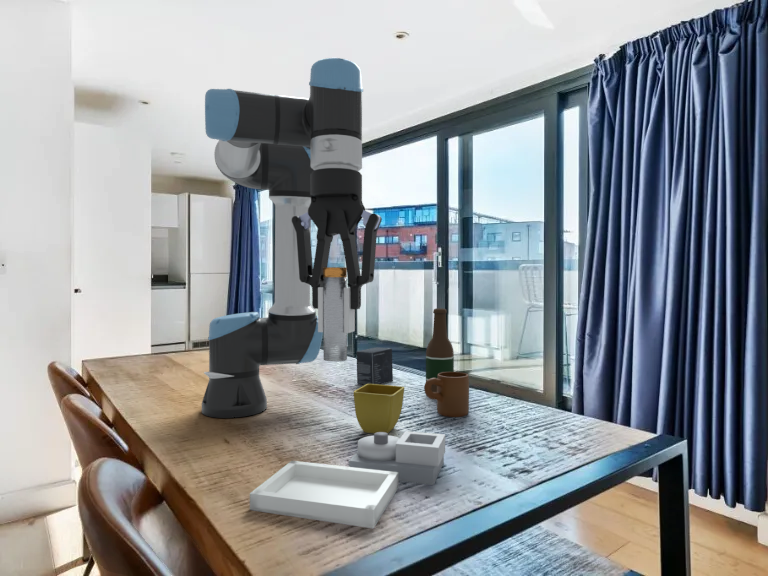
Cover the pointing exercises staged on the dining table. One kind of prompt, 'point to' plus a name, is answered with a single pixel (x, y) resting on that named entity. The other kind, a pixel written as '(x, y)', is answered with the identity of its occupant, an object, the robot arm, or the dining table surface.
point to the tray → (327, 493)
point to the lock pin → (334, 313)
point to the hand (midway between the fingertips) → (336, 331)
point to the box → (374, 366)
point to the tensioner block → (403, 455)
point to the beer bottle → (439, 349)
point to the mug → (450, 393)
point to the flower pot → (378, 407)
